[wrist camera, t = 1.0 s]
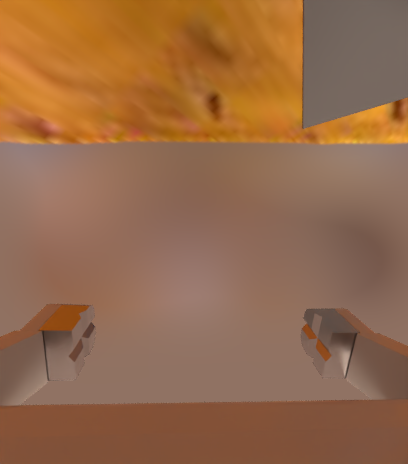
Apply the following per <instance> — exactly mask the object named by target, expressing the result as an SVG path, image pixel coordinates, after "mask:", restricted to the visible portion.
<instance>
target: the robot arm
mask: <svg viewBox="0 0 408 464" xmlns="http://www.w3.org/2000/svg"><path fill="white" fill-rule="evenodd" d="M94 316H95V315H94V307H93V306H92V305H73V304H47V305H46V306H45V307H44V308H43V309H42V310H41V311H40V312H39V313H38V314H37V315H36V316H35V317H34V318H33V319H32V320H30V321H29V323H27V324H26V325H25V326H24V327H23V328H22V329H21V330H20V331H13V332H11V333H8V334H6V335H3V336H1V337H0V464H408V346H407V345H404V344H402V343H400V342H397V341H395V340H393V339H391V338H388V337H386V336H383V335H381V334H379V333H374V332H373V331H372V330H370V329H369V328H368V327H367V326H366V325H365V324H364V323H362V322H361V321H360V320H359V319H358V318H356V317H355V316H354V315H353V314H352V313H351V312H350V311H348V310H347V309H344V308H337V309H307V310H306V311H305V314H304V320H305V322H306V325H305V326H304V327H303V328H302V330H301V342H302V346H303V348H304V350H305V352H306V354H308V355H309V356H311V357H312V358H314V359H313V364H314V366H315V367H316V369H317V370H318V372H319V373H320V375H321V376H322V378H346V380H347V381H348V382H350V383H351V384H352V385H354V386H355V387H356V388H358V389H359V390H360V391H361V392H363V393H364V394H365V395H367V396H368V397H369V398H370V399H372V400H323V401H267V402H266V401H263V402H262V401H261V402H204V403H203V402H199V403H137V404H136V403H135V404H134V403H131V404H70V405H69V404H68V405H20V404H21V403H23V402H24V401H25V400H26V399H28V398H29V397H30V396H31V395H33V394H34V393H35V392H36V391H38V390H39V389H40V388H41V387H43V386H44V385H45V384H46V383H48V381H58V380H76V379H77V377H78V375H79V373H80V371H81V369H82V367H83V366H84V357H86V356H87V355H89V354H90V352H91V350H92V348H93V345H94V341H95V334H96V331H95V326H94V325H93V323H92V322H91V321H92V320H93V318H94Z"/></svg>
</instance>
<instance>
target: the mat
mask: <svg viewBox="0 0 408 464" xmlns="http://www.w3.org/2000/svg"><path fill="white" fill-rule="evenodd" d="M407 97H408V0H303V129H304V128H307V127H311V126H314V125H317V124H321V123H324V122H327V121H331V120H334V119H337V118H341V117H344V116H347V115H351V114H354V113H357V112H360V111H364V110H367V109H370V108H374V107H377V106H380V105H384V104H387V103H390V102H394V101H397V100H400V99H404V98H407Z"/></svg>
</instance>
